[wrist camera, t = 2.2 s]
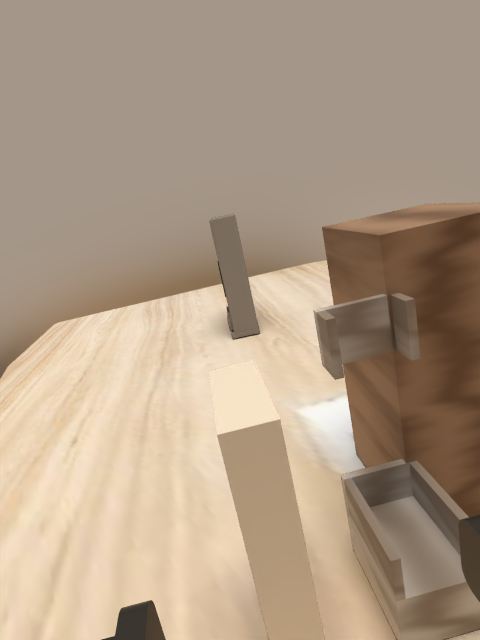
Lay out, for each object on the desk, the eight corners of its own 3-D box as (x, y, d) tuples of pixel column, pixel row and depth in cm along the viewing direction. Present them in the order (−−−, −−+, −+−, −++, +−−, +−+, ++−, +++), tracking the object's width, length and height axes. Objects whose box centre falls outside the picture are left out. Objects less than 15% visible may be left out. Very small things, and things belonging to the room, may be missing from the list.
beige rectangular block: (300, 576, 32) (254, 360, 27) (335, 691, 25) (280, 419, 20) (262, 586, 32) (208, 371, 27) (285, 705, 24) (217, 434, 20)
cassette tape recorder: (230, 322, 103) (207, 219, 96) (255, 317, 103) (234, 213, 96) (231, 340, 90) (205, 221, 83) (260, 334, 90) (235, 215, 83)
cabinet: (445, 430, 45) (426, 203, 39) (626, 586, 27) (648, 198, 20) (312, 465, 45) (270, 238, 38) (402, 651, 26) (350, 268, 19)
